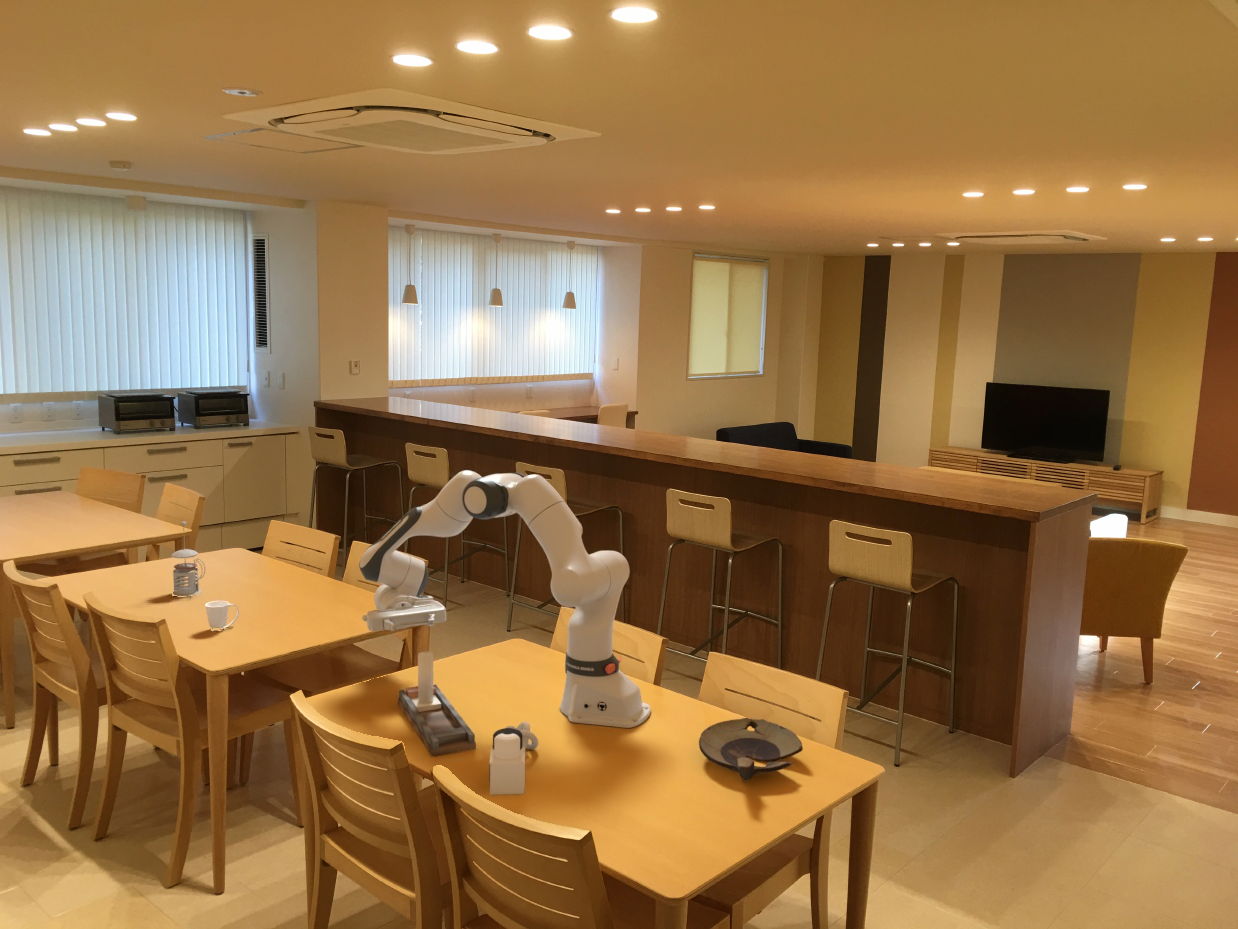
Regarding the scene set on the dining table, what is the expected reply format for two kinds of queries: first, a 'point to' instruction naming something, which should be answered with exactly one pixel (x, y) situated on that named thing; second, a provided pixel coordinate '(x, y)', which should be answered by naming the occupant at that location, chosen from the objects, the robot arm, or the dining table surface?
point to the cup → (219, 614)
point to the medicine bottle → (507, 763)
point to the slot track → (437, 724)
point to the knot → (526, 736)
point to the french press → (186, 572)
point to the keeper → (425, 684)
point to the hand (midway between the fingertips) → (413, 625)
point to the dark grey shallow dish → (749, 746)
